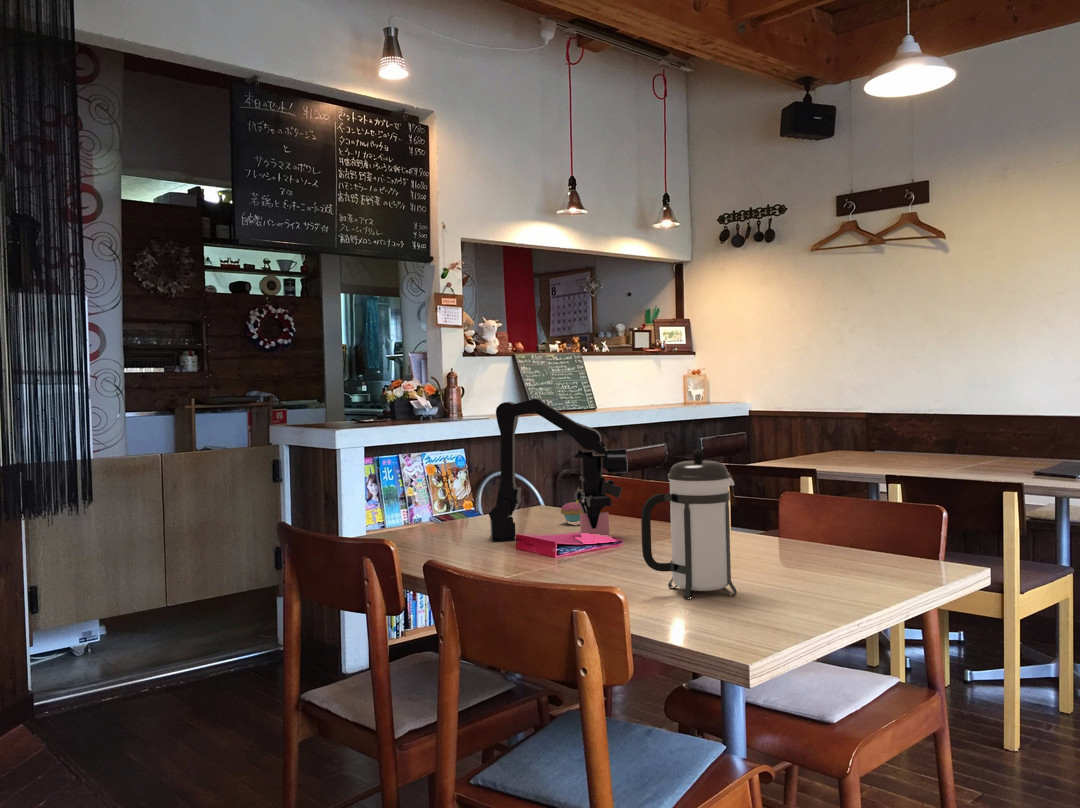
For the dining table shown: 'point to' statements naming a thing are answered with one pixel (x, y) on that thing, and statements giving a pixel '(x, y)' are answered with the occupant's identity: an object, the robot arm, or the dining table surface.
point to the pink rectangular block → (601, 524)
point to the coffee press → (695, 526)
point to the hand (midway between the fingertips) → (593, 527)
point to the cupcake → (572, 511)
